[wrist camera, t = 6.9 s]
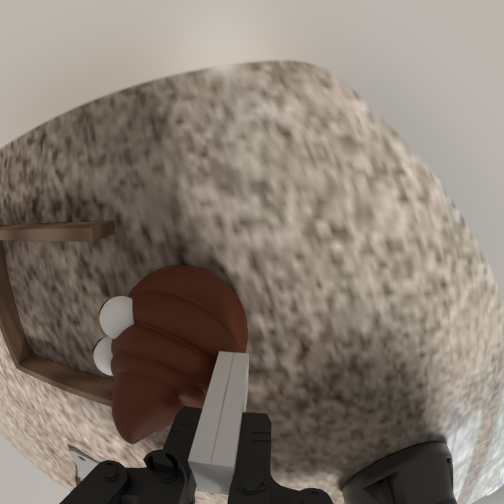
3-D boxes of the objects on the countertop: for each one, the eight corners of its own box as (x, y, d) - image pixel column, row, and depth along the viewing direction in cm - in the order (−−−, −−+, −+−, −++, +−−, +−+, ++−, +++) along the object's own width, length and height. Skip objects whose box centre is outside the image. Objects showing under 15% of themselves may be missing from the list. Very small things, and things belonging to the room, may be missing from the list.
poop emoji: (214, 396, 19) (188, 495, 10) (116, 348, 19) (54, 428, 10) (273, 295, 17) (274, 409, 8) (148, 235, 16) (45, 292, 7)
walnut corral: (113, 220, 16) (91, 228, 14) (144, 393, 20) (134, 412, 18) (-5, 226, 17) (-23, 231, 15) (29, 357, 21) (16, 368, 18)
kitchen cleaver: (109, 502, 32) (67, 480, 30) (110, 499, 33) (69, 477, 31) (129, 479, 26) (68, 446, 25) (131, 474, 27) (71, 442, 26)
